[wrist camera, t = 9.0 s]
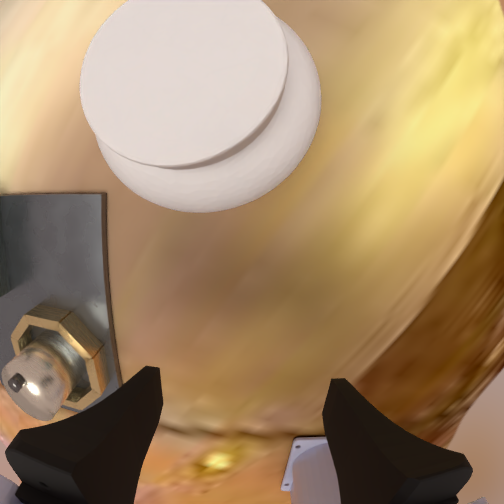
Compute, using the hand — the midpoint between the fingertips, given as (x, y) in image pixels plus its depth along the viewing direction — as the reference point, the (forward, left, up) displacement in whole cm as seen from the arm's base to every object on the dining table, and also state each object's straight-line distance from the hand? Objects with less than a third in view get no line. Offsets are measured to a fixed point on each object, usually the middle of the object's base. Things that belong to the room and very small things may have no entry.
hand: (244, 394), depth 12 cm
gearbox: (-3, +18, -9) cm, 21 cm away
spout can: (-6, +15, -9) cm, 18 cm away
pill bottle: (+11, +2, -10) cm, 15 cm away
